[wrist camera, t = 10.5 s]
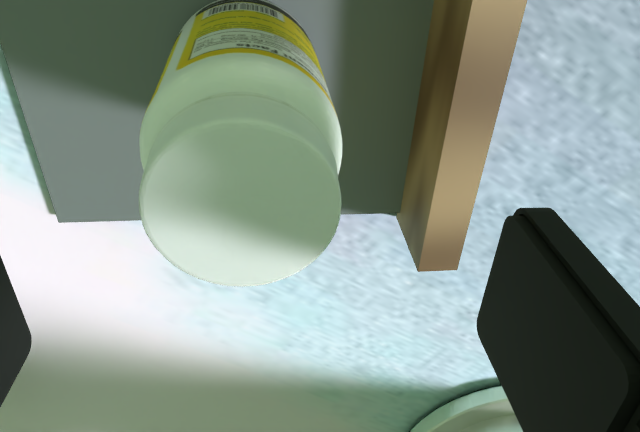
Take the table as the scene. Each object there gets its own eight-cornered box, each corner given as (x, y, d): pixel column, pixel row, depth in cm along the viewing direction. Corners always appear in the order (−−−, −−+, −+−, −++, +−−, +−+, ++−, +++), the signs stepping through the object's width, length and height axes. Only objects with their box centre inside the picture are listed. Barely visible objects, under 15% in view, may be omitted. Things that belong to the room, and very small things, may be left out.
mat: (397, 207, 21) (400, 212, 21) (61, 216, 20) (58, 222, 19) (462, -213, 13) (468, -215, 13) (-86, -249, 12) (-95, -252, 12)
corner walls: (430, 216, 21) (456, 270, 19) (51, 227, 20) (18, 288, 17) (532, -287, 13) (613, -330, 10) (-140, -343, 11) (-280, -415, 8)
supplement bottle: (243, 158, 19) (236, 332, 12) (141, 62, 16) (57, 211, 9) (345, 76, 17) (405, 219, 10) (250, -43, 15) (246, 42, 8)
